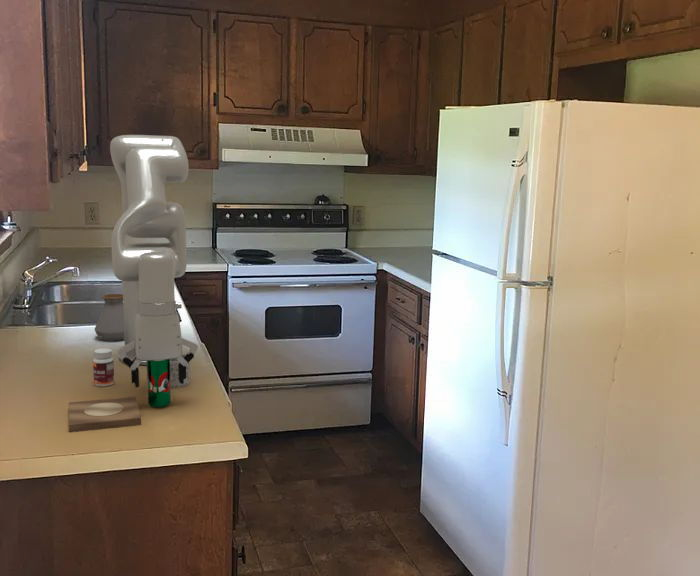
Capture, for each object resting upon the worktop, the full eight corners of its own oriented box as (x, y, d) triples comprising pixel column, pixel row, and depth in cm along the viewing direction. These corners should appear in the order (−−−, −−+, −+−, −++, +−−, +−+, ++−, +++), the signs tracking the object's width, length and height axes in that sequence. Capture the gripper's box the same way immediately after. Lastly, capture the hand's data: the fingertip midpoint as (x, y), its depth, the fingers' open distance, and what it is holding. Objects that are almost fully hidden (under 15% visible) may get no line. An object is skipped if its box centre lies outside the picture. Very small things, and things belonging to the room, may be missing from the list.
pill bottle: (89, 385, 179) (88, 351, 177) (102, 379, 183) (101, 347, 181) (105, 388, 177) (104, 354, 175) (118, 382, 181) (117, 349, 180)
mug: (193, 380, 185) (192, 354, 183) (185, 388, 178) (185, 362, 177) (153, 378, 185) (153, 352, 184) (144, 386, 179) (144, 360, 177)
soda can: (173, 401, 169) (172, 350, 167) (168, 409, 164) (167, 356, 162) (150, 401, 169) (149, 350, 167) (145, 408, 164) (144, 356, 162)
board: (69, 408, 163) (68, 401, 162) (135, 402, 167) (135, 395, 167) (69, 432, 150) (69, 424, 149) (141, 424, 155) (140, 416, 154)
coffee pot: (94, 343, 215) (92, 293, 213) (95, 334, 226) (93, 285, 223) (169, 340, 222) (168, 290, 219) (167, 330, 232) (166, 283, 230)
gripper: (194, 303, 169) (195, 376, 172) (114, 307, 163) (117, 382, 166) (199, 309, 162) (201, 385, 165) (117, 314, 156) (119, 392, 159)
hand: (159, 383), depth 165 cm, fingers open, 9 cm apart
